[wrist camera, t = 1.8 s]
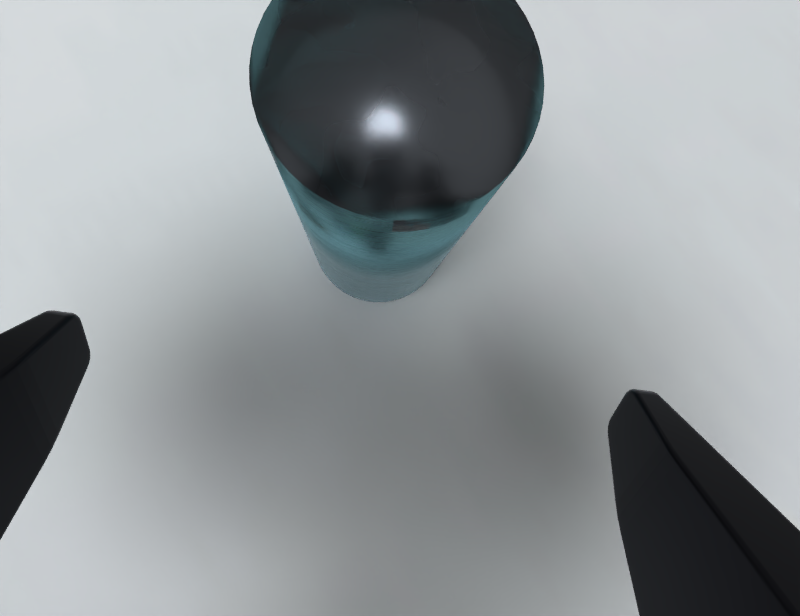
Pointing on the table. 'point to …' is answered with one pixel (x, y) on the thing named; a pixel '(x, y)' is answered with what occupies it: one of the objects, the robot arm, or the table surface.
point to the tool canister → (393, 125)
